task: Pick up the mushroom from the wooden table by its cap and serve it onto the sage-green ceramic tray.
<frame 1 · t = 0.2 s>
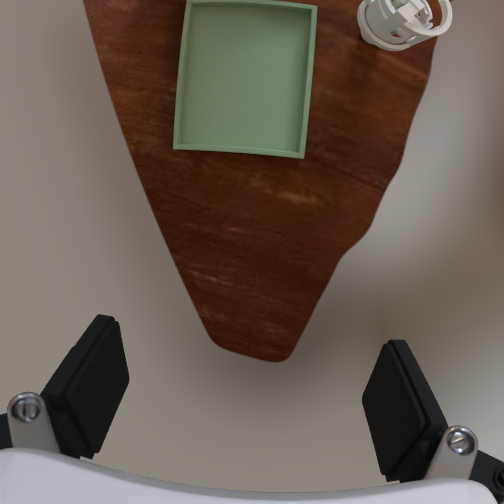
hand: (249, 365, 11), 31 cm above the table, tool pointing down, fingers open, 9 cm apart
white open cylindrical frame: (371, 34, 31), on the table
tray: (245, 74, 34), on the table
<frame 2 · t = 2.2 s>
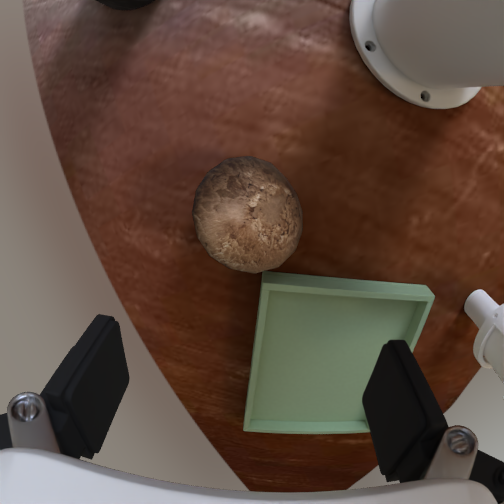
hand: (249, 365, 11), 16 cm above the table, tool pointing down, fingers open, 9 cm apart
mushroom: (251, 203, 25), on the table
white open cylindrical frame: (474, 301, 27), on the table
tray: (327, 363, 30), on the table
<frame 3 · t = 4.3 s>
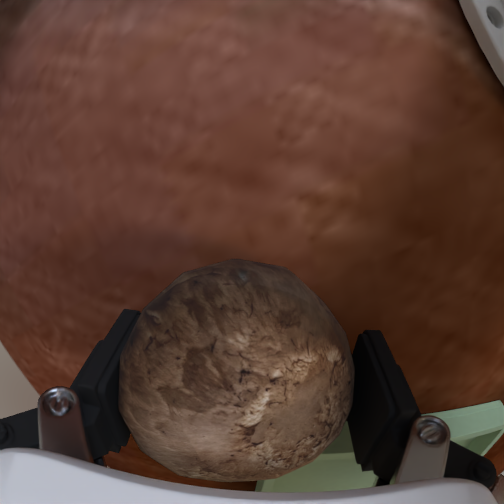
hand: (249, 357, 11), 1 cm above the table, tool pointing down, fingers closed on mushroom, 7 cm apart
mushroom: (250, 330, 12), on the table, touching gripper
tray: (355, 490, 18), on the table
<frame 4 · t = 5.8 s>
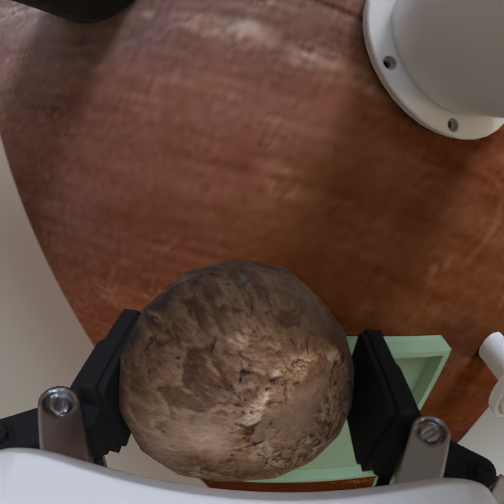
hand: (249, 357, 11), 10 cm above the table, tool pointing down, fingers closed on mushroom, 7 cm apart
mushroom: (250, 330, 12), point 8 cm above the table, touching gripper
white open cylindrical frame: (489, 344, 24), on the table
tray: (332, 417, 26), on the table
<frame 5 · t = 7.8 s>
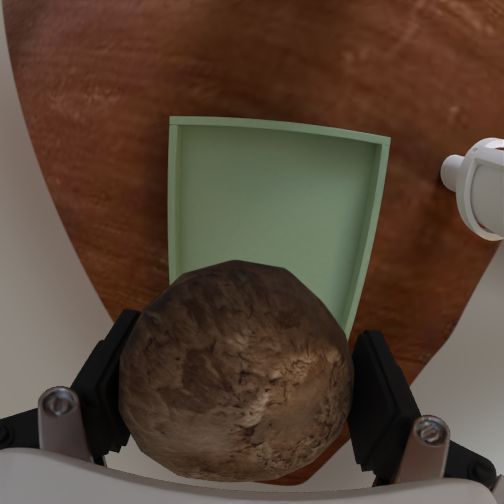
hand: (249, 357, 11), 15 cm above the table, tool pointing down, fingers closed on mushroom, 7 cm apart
mushroom: (250, 330, 12), point 14 cm above the table, touching gripper
white open cylindrical frame: (453, 172, 23), on the table
tray: (269, 245, 26), on the table
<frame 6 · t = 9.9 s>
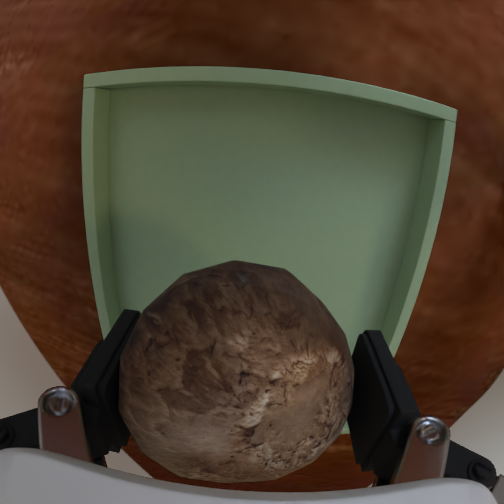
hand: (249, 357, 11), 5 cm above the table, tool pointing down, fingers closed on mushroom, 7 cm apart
mushroom: (250, 331, 12), point 4 cm above the table, touching gripper
tray: (254, 282, 16), on the table
when the fingers open (2 cm above the table, at t = 11.4 s): mushroom stays where it is, resting on tray.
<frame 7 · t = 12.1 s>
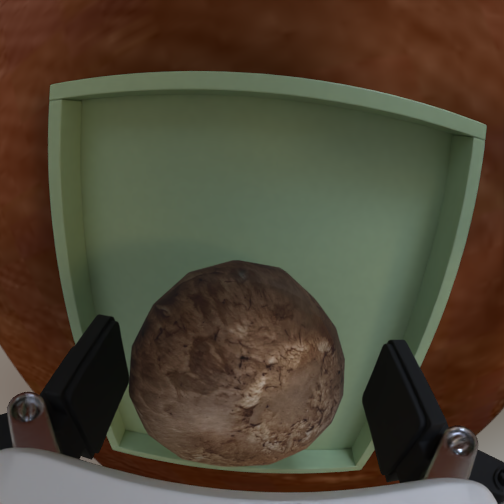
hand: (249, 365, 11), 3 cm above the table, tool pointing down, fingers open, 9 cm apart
mushroom: (249, 327, 13), resting on tray
tray: (250, 322, 14), on the table
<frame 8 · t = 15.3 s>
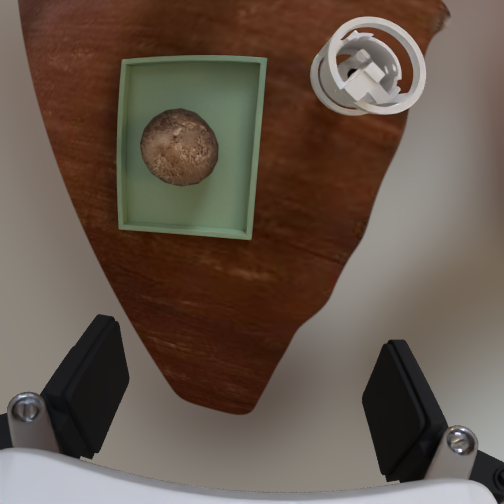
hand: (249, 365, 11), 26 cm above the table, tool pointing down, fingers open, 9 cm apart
mushroom: (187, 144, 32), resting on tray
white open cylindrical frame: (335, 84, 30), on the table
tray: (188, 144, 33), on the table
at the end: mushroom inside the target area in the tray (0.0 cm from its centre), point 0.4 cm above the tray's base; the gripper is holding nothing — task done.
